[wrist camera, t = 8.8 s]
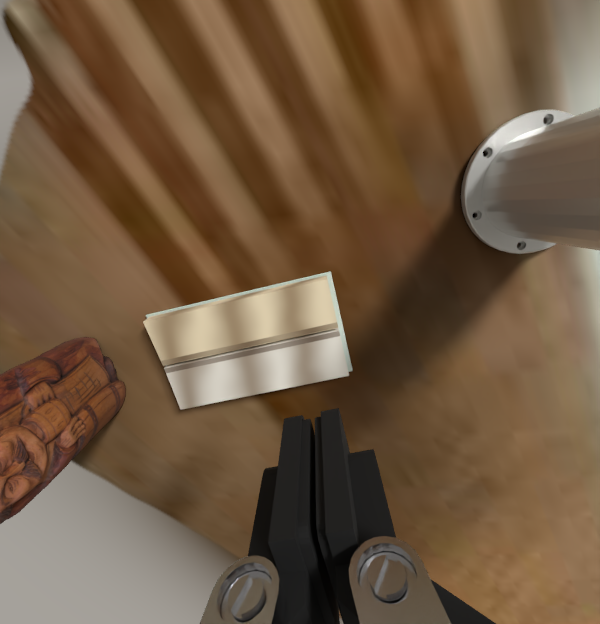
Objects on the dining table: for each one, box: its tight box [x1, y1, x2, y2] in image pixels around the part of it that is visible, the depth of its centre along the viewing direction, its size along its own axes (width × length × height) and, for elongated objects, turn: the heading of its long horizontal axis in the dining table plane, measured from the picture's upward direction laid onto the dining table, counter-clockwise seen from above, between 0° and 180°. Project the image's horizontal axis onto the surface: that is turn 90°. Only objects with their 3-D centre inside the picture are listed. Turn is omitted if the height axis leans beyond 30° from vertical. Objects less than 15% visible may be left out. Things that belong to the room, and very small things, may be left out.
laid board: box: [164, 328, 349, 410], centre depth 39 cm, size 20×6×1 cm, turn 103°
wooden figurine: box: [0, 337, 126, 524], centre depth 32 cm, size 12×6×18 cm, turn 15°
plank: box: [143, 275, 338, 366], centre depth 37 cm, size 20×6×1 cm, turn 103°
